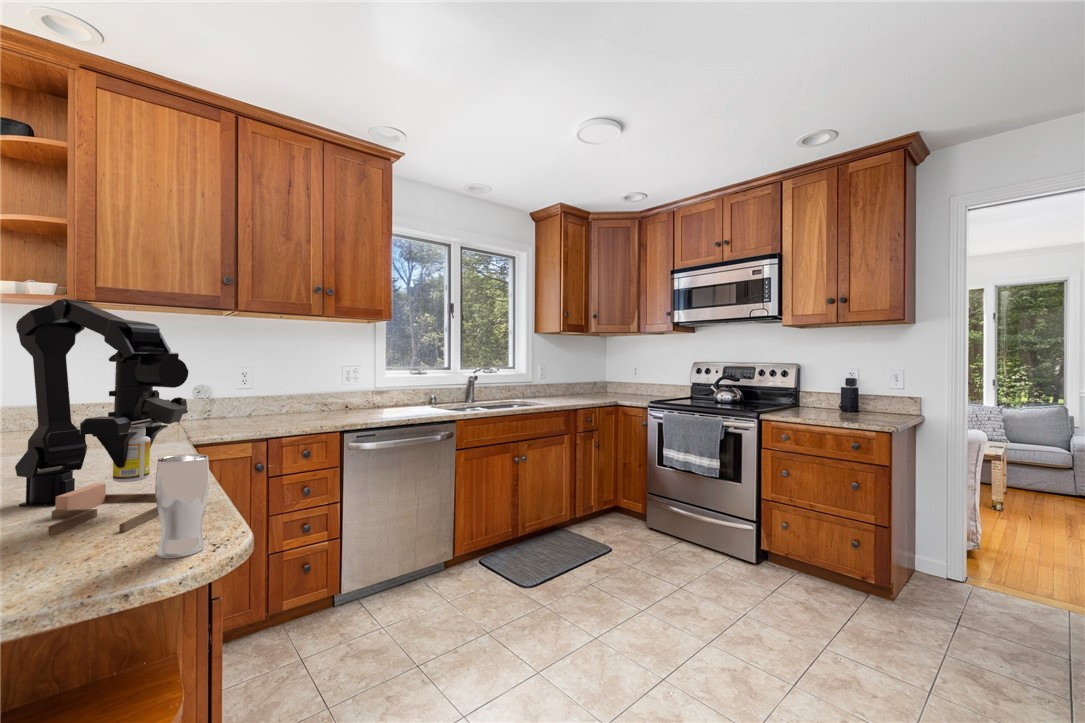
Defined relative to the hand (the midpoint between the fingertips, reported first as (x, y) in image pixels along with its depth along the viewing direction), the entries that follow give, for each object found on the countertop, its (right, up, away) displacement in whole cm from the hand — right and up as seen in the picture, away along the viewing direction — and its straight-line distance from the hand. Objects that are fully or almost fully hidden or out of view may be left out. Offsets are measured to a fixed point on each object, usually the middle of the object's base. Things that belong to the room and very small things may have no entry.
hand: (131, 464), depth 95 cm
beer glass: (+23, -10, -18) cm, 31 cm away
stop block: (-11, -10, +2) cm, 15 cm away
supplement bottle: (0, -3, 0) cm, 3 cm away
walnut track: (-3, -10, -2) cm, 10 cm away
